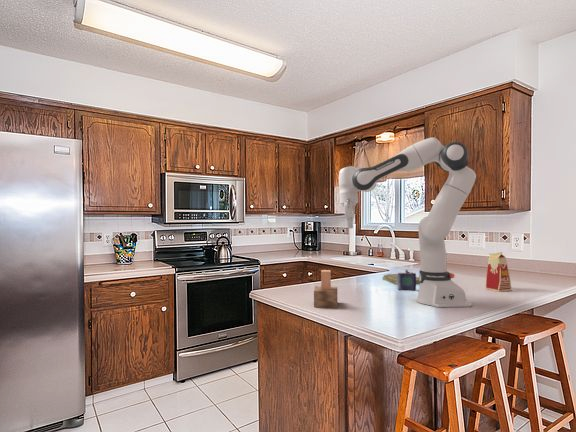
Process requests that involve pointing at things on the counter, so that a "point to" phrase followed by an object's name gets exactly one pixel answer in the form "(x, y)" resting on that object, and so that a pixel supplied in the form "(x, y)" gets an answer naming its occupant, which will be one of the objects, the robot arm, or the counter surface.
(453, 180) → the robot arm
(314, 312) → the counter surface
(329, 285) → the terracotta block
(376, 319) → the counter surface
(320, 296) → the small wooden cube
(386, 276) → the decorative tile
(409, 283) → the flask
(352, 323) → the counter surface
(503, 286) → the milk carton
